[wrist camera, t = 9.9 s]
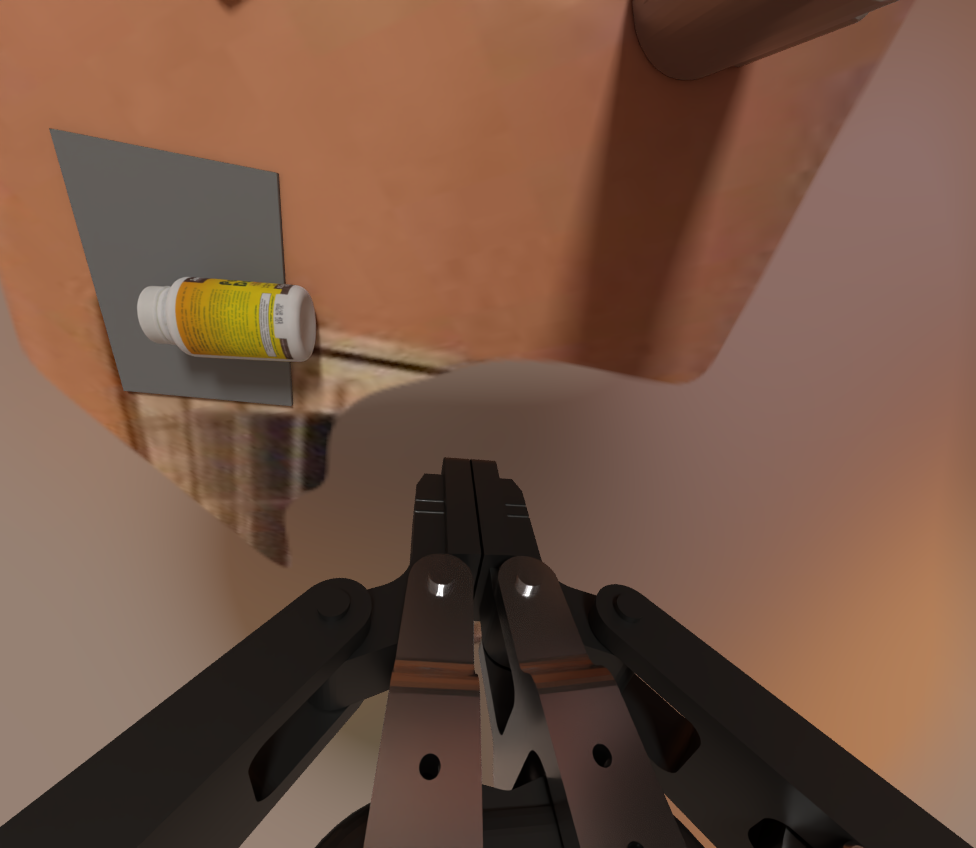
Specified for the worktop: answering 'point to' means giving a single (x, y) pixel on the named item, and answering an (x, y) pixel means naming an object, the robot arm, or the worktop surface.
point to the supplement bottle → (230, 319)
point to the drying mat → (173, 254)
